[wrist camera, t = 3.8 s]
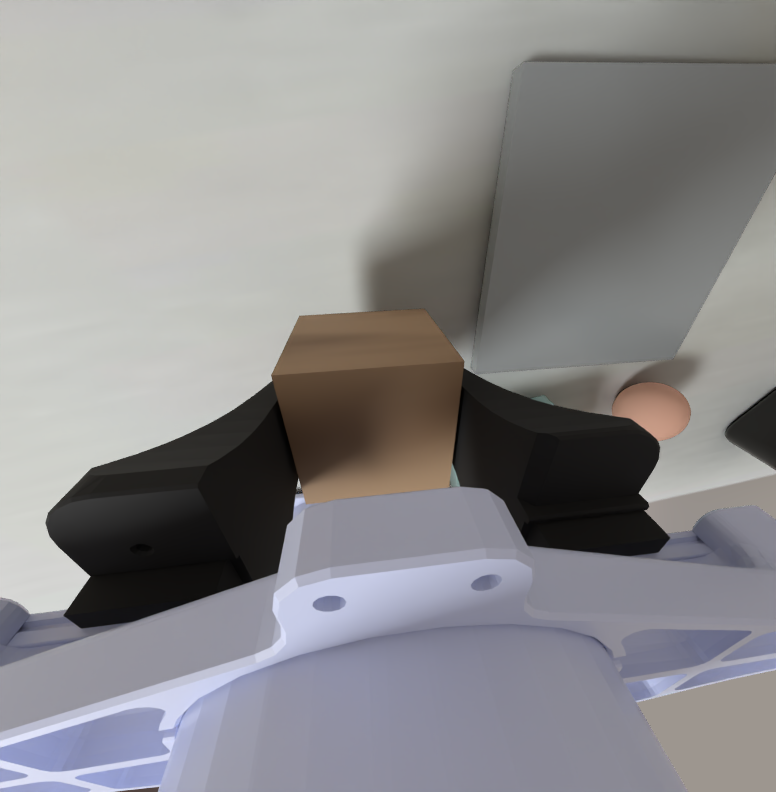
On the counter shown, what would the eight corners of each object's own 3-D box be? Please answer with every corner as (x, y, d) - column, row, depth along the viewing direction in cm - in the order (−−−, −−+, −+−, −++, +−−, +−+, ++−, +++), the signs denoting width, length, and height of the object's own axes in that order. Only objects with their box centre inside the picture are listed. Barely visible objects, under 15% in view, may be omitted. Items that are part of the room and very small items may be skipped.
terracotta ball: (639, 415, 21) (688, 450, 18) (590, 419, 20) (632, 456, 17) (663, 369, 19) (723, 401, 16) (610, 373, 19) (661, 406, 16)
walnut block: (420, 409, 15) (448, 488, 11) (318, 417, 14) (305, 504, 10) (424, 308, 12) (464, 361, 8) (299, 315, 12) (271, 375, 7)
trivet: (661, 353, 18) (673, 359, 17) (470, 367, 17) (475, 374, 16) (806, 72, 12) (835, 64, 11) (512, 70, 11) (523, 61, 10)
